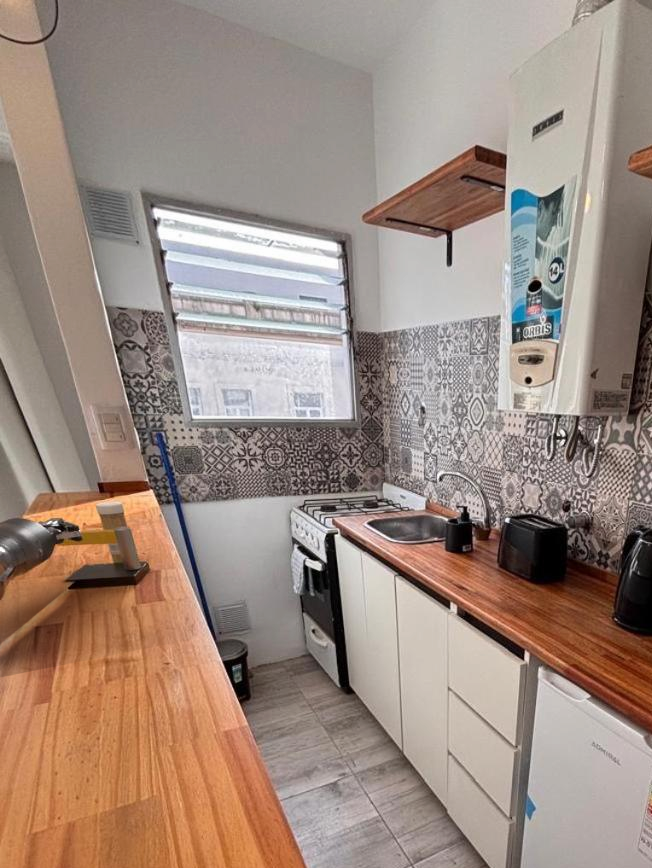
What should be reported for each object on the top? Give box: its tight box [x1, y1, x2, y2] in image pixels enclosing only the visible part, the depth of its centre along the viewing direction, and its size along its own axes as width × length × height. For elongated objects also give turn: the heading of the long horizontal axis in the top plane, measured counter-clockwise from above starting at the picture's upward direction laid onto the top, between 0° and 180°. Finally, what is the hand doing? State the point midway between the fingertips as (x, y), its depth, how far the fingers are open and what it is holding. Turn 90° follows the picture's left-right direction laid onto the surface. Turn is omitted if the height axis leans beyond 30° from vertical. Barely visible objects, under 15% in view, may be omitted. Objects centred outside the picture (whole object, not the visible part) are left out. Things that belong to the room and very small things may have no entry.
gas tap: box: [57, 526, 141, 570], centre depth 101 cm, size 12×3×8 cm, turn 107°
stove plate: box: [64, 560, 151, 590], centre depth 103 cm, size 12×10×2 cm
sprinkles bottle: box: [95, 501, 128, 563], centre depth 108 cm, size 5×5×13 cm
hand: (59, 523), depth 94 cm, fingers closed
